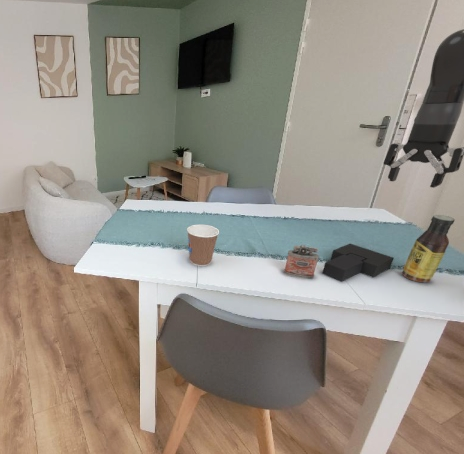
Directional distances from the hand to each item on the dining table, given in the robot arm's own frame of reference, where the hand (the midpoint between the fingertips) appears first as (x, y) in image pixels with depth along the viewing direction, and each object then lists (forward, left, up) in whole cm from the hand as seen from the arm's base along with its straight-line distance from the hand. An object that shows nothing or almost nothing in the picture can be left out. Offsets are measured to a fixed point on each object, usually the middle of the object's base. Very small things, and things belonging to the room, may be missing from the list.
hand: (411, 183), depth 80 cm
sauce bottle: (-7, -4, -28) cm, 29 cm away
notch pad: (+5, +1, -28) cm, 29 cm away
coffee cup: (+33, +43, -28) cm, 61 cm away
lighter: (+11, +23, -28) cm, 38 cm away
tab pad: (+5, +10, -28) cm, 30 cm away
